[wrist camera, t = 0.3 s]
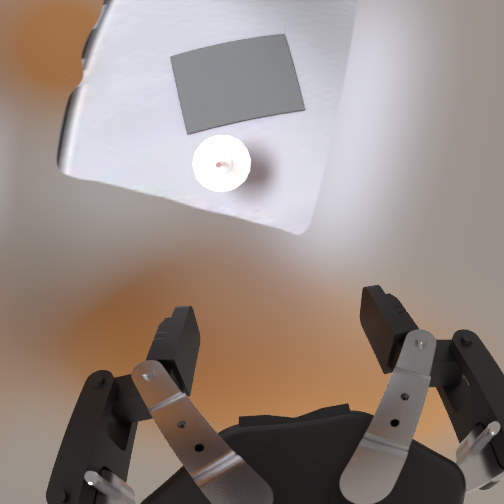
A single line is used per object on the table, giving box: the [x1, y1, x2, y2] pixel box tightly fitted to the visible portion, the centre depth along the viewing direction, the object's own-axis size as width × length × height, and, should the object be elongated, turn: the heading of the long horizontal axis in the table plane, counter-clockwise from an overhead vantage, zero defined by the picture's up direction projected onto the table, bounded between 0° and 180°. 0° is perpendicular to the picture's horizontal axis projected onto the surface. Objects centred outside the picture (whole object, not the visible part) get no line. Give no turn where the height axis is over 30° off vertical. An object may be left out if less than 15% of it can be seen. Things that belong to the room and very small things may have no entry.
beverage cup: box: [192, 135, 251, 192], centre depth 30 cm, size 6×6×14 cm
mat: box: [170, 34, 305, 134], centre depth 33 cm, size 12×16×1 cm
